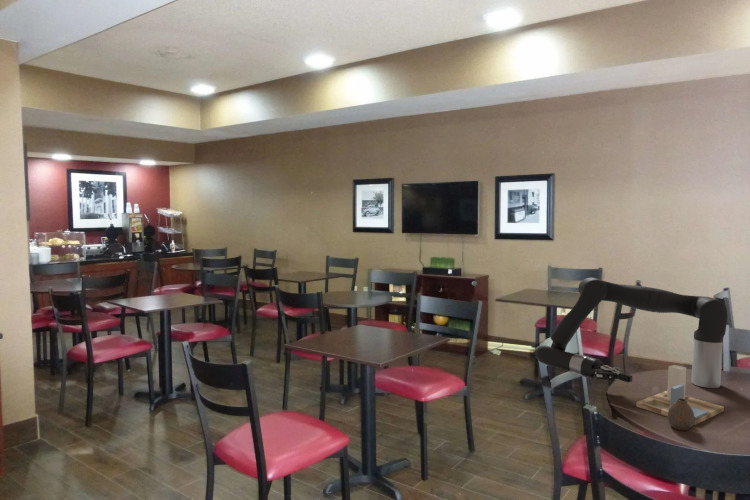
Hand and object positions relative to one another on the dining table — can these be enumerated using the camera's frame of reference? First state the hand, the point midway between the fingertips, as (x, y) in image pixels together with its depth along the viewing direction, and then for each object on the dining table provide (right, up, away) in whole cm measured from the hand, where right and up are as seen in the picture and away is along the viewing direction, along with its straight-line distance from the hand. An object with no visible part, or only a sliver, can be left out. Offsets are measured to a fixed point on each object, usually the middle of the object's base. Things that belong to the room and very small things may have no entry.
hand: (631, 379), depth 176 cm
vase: (+4, -9, -21) cm, 24 cm away
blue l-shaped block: (+11, -7, -15) cm, 19 cm away
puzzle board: (+12, -8, -7) cm, 17 cm away
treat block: (+15, -7, -1) cm, 17 cm away
